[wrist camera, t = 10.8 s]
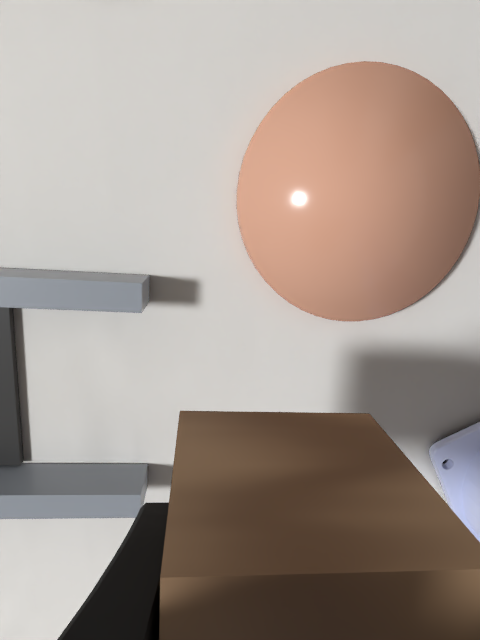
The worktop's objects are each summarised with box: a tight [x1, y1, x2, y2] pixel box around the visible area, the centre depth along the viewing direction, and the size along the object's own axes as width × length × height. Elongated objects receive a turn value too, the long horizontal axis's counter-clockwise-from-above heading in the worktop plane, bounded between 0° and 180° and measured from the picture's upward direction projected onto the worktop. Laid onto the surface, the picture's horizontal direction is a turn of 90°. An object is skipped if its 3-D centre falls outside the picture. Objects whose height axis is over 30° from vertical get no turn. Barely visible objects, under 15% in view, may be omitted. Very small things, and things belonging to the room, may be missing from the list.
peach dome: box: [237, 61, 480, 321], centre depth 15 cm, size 9×9×1 cm
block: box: [159, 411, 480, 640], centre depth 8 cm, size 4×4×4 cm
